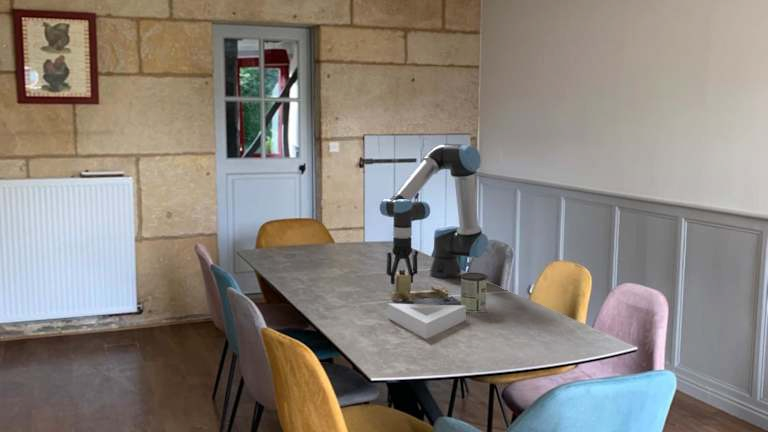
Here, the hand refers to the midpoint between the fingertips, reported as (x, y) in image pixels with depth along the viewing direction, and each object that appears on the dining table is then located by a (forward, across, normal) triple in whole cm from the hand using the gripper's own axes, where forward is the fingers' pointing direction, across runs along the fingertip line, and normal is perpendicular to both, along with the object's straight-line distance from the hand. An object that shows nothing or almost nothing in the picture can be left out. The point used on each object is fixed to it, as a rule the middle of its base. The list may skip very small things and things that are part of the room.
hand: (401, 290), depth 329 cm
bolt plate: (+4, -8, +11) cm, 14 cm away
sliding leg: (+2, 0, +4) cm, 5 cm away
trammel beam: (+4, -8, +4) cm, 10 cm away
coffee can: (+4, -23, +22) cm, 32 cm away
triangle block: (+5, +6, +35) cm, 36 cm away
